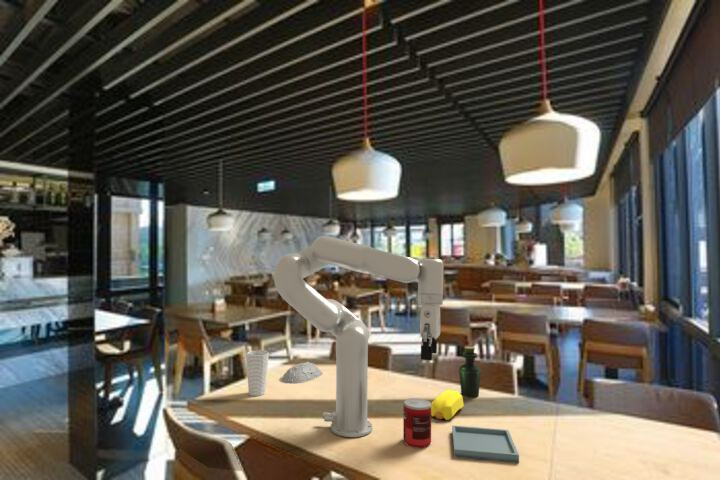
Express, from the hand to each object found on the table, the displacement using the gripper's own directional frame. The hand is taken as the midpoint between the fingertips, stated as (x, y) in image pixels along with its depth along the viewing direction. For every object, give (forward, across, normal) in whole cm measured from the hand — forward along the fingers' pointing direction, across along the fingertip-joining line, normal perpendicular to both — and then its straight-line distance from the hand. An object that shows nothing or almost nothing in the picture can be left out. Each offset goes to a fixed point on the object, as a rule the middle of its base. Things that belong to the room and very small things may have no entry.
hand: (429, 356), depth 125 cm
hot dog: (+23, +18, -4) cm, 29 cm away
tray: (+22, -5, -16) cm, 28 cm away
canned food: (+23, -8, +2) cm, 24 cm away
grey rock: (+24, +41, +62) cm, 78 cm away
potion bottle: (+22, +40, -10) cm, 47 cm away
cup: (+24, +13, +67) cm, 72 cm away
